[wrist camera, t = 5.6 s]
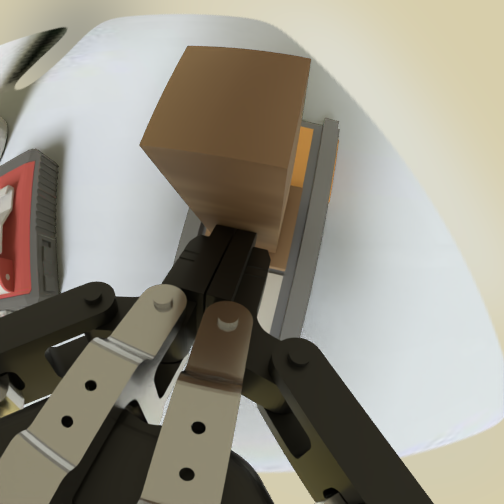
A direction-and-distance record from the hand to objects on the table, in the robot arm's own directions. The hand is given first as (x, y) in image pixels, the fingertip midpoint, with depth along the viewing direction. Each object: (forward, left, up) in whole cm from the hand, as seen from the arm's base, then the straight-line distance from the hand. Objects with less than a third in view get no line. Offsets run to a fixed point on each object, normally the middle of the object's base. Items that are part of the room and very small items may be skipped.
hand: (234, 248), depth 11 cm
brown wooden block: (0, +2, -3) cm, 4 cm away
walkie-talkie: (-17, -5, -6) cm, 19 cm away
